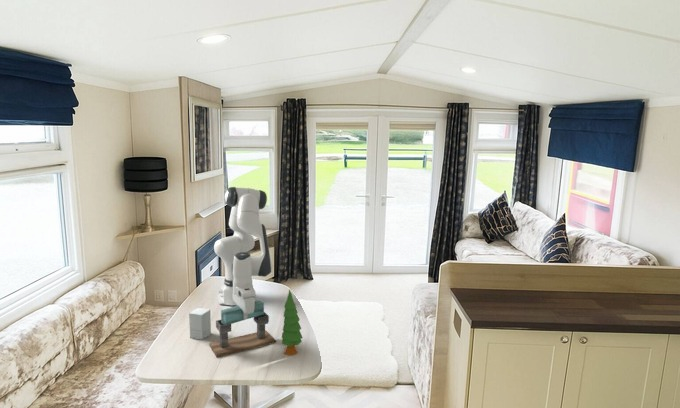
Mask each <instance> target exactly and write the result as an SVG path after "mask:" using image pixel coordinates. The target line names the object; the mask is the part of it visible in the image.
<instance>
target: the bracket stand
mask: <svg viewBox="0 0 680 408" xmlns="http://www.w3.org/2000/svg"><path fill="white" fill-rule="evenodd" d="M269 319H270V316H269V314H268V313H266V312H265V311H264V314H263V315H260V316H256V317H253V321H254V322H255V324H256V332H254V333H253V332H252V333H248V334H244V335H239V336H235V337H231V338H230V337H229V332H232V324H229V325H226V326H225V325H224V324H222V323H221V319H217V320H215V328H216V330H218V332H219V340H217V341H212V342H209V343H208V344H209V345H208V346H209V348H210V350H211V351H212V352H213V354H214V356H215V357H216V358H220V357H225V356H228V355H232V354H237V353H240V352H244V351H250V350H252V349H257V348H261V347H264V346H268V345H271V344H274V343H276V338H274V337H273V335H272V334H271V333H269V332H268V331H267V330H266V325H267V324H269V322H270V320H269Z"/></svg>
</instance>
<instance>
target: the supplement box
mask: <svg viewBox="0 0 680 408" xmlns="http://www.w3.org/2000/svg"><path fill="white" fill-rule="evenodd" d="M188 318H189V320H188V321H189V338H190V339H196V340H200V341H201V340H204V339H206V338H208V336H210V335H211V334H212V323H211V321H212V320H211V309H208V308H201V307H197V308H196V309H193V310H191V312H189V313H188Z"/></svg>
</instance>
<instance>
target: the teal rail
mask: <svg viewBox="0 0 680 408" xmlns="http://www.w3.org/2000/svg"><path fill="white" fill-rule="evenodd" d="M264 312H265V301H262V300H261V299H257V300H255V307H254V312H253V313H252V314H248V315H247V319H243V310H242V309H241V308H240V307H239V306H237V305H234V306H232V307H228V308H223V309H221V310H220V317H221V319H220V320H221V323H222V324H224V325H225V326H226V325H229V324H231V325H233V324H235V323H239V322H242V321H245V320H250V319H254V317H256V316H260V315H263V314H264Z"/></svg>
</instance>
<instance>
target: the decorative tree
mask: <svg viewBox="0 0 680 408" xmlns="http://www.w3.org/2000/svg"><path fill="white" fill-rule="evenodd" d="M283 308H284V311H283V327H282V333H281V338H282V339H281V340H282V341H281V344H282V345H284V346H286V348H285V351H284V353H283V355H286V356H287V355H288V356H295V355H297V354H298V353H299V352H298V350H297V349H296V346H299V345H300V344H301V343H302V339H303V335H302V333H301V330H302V326H301V324H300V320H301V319H300V317H299V316H298V312H299V311H298V310H297V306H296V304H295V301H294V297H293V294H292V291H291V289H288V294H287V298H286V301H285V303H284V307H283Z"/></svg>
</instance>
